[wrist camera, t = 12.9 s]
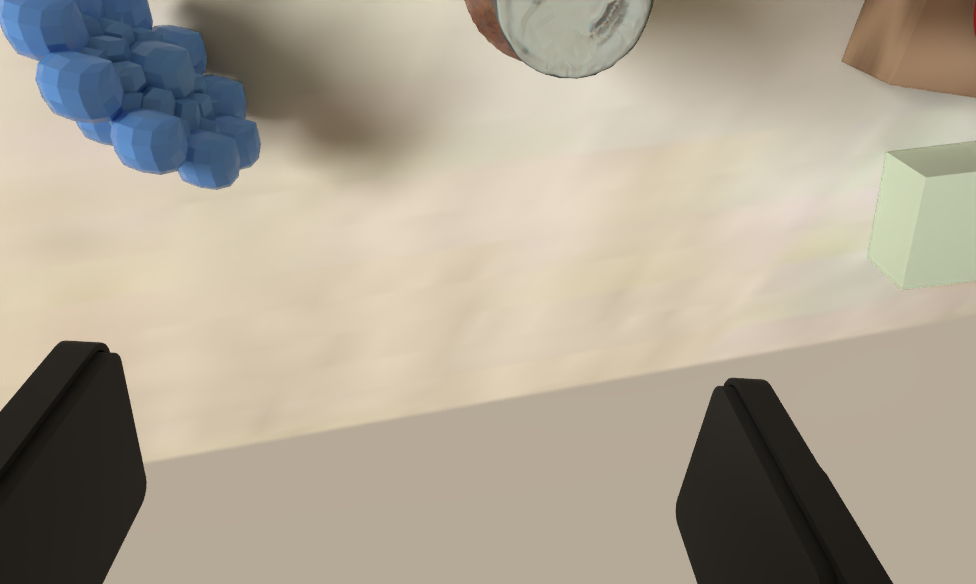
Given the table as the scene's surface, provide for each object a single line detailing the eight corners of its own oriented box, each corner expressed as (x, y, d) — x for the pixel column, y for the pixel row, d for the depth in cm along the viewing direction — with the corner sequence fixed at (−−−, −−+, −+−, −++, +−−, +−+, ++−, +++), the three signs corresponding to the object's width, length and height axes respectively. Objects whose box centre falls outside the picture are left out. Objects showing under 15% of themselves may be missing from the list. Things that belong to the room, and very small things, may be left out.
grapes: (42, 7, 35) (-130, 62, 25) (134, -82, 33) (-11, -62, 23) (216, 183, 40) (132, 289, 30) (303, 114, 38) (246, 202, 28)
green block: (886, 152, 41) (925, 177, 37) (1008, 137, 41) (1059, 161, 37) (867, 257, 44) (901, 290, 41) (979, 244, 44) (1023, 275, 41)
